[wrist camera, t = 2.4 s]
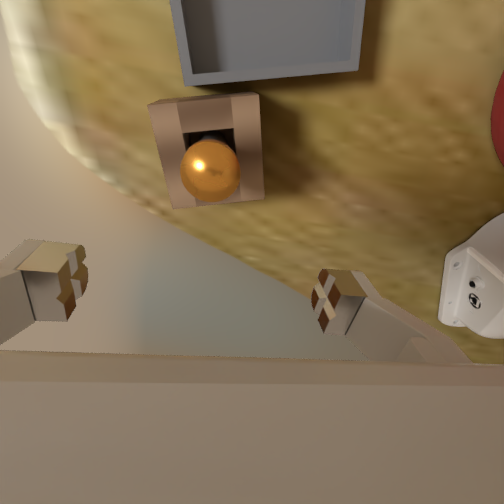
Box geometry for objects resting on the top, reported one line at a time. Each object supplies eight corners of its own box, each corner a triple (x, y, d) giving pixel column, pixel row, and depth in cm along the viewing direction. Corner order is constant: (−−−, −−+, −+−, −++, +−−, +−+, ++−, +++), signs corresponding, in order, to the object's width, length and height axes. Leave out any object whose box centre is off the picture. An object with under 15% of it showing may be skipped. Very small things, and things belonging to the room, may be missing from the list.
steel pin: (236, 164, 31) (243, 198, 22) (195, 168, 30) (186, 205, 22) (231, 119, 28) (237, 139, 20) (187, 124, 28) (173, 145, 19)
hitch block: (257, 179, 33) (264, 199, 28) (179, 188, 32) (172, 209, 27) (251, 91, 28) (259, 94, 23) (160, 99, 28) (147, 105, 23)
